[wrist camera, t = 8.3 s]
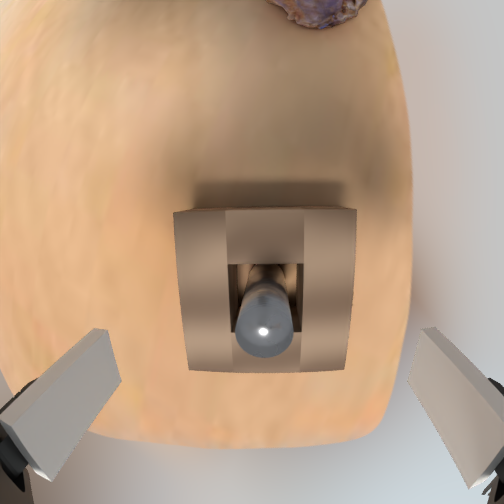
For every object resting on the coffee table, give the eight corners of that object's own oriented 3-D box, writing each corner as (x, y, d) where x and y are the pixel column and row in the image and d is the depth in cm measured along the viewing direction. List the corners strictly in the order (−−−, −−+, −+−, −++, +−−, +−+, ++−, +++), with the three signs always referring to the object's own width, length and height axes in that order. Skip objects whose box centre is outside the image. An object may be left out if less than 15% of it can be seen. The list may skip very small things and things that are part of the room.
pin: (248, 261, 24) (233, 306, 14) (284, 261, 24) (294, 306, 14) (249, 295, 25) (236, 357, 15) (284, 295, 24) (292, 357, 15)
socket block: (192, 208, 23) (173, 212, 19) (338, 206, 23) (356, 209, 18) (202, 340, 26) (189, 370, 21) (332, 340, 25) (344, 369, 20)
